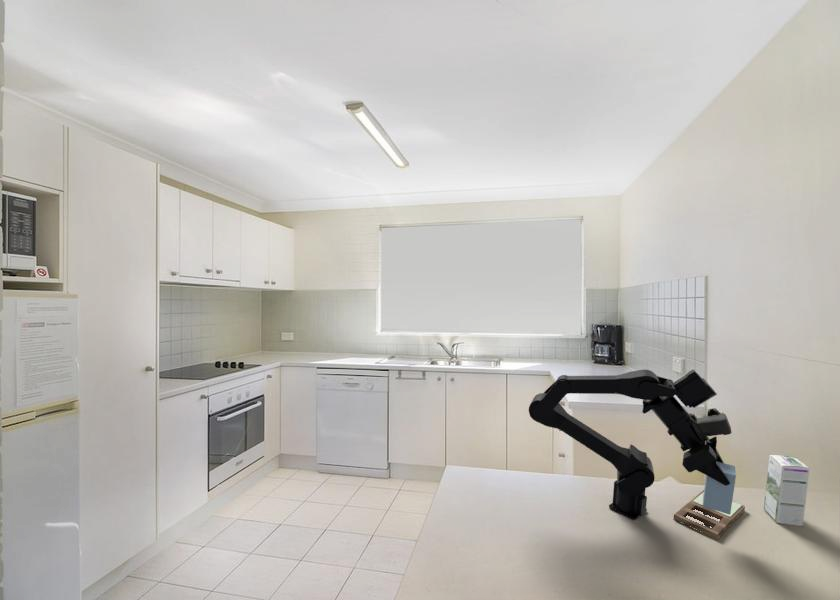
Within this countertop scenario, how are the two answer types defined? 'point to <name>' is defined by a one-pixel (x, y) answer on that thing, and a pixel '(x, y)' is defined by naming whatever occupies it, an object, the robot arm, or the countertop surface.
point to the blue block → (720, 490)
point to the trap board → (716, 526)
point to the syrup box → (786, 489)
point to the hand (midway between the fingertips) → (727, 479)
